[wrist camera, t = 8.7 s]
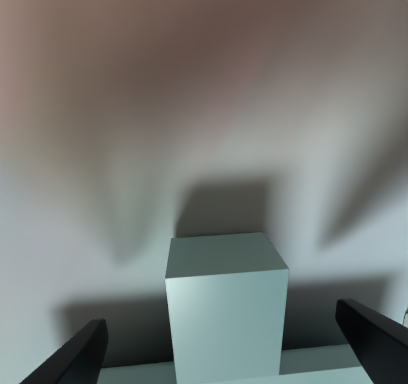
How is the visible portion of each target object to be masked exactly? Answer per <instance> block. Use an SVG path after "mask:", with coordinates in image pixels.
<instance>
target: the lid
mask: <svg viewBox="0 0 408 384" xmlns="http://www.w3.org/2000/svg"><path fill="white" fill-rule="evenodd" d="M288 276H289V268H288V267H287V265H286V264H285V262H284V261H283V259H282V258H281V257H280V255H279V254H278V252H277V251H276V249H275V248H274V247H273V245H272V244H271V242H270V241H269V239H268V238H267V237H266V235H265V234H264V232H257V233H242V234H228V235H213V236H199V237H184V238H171V244H170V250H169V257H168V263H167V270H166V276H165V283H166V291H167V300H168V309H169V318H170V326H171V335H172V344H173V353H174V361H173V362H163V363H153V364H143V365H133V366H123V367H113V368H103V369H101V371H100V374H99V378H98V382H97V384H373V382H372V381H371V379H370V378H369V376H368V375H367V373H366V372H365V370H364V369H363V367H362V365H361V364H360V362H359V360H358V359H357V357H356V355H355V354H354V352H353V350H352V348H351V346H350V345H349V344H342V345H332V346H322V347H312V348H302V349H293V350H283V351H281V347H282V337H283V326H284V316H285V306H286V296H287V286H288Z"/></svg>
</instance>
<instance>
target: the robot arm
mask: <svg viewBox="0 0 408 384" xmlns="http://www.w3.org/2000/svg"><path fill="white" fill-rule="evenodd" d="M335 317H336V321H337V323H338V325H339V327H340V329H341V331H342V332H343V334H344V336H345V338H346V339H347V341H348V343H349V345H350V346H351V348H352V350H353V352H354V354H355V355H356V357H357V359H358V360H359V362H360V364H361V365H362V367H363V369H364V370H365V372H366V373H367V375H368V376H369V378H370V379H371V381H372V382H373V384H408V328H407V327H405V326H403V325H401V324H399V323H397V322H395V321H393V320H391V319H390V318H388V317H386V316H384V315H382V314H380V313H378V312H376V311H374V310H372V309H370V308H368V307H366V306H364V305H362V304H360V303H358V302H356V301H354V300H352V299H350V298H340V299H338V301H337V306H336V314H335ZM107 344H108V330H107V325H106V320H105V319H104V318H99V319H93V320H91V321H90V322H89V323H88V324H87V325H86V326H84V327H83V328H82V329H81V330H80V331H79V332H78V333H77V334H75V335H74V336H73V337H72V338H71V339H70V340H69V341H67V342H66V343H65V344H64V345H63V346H62V347H61V348H59V349H58V350H57V351H56V352H55V353H54V354H53V355H51V356H50V357H49V358H48V359H47V360H46V361H45V362H43V363H42V364H41V365H40V366H39V367H38V368H37V369H35V370H34V371H33V372H32V373H31V374H30V375H29V376H27V377H26V378H25V379H24V380H23V381H22V382H21V383H20V384H97V382H98V378H99V374H100V371H101V367H102V363H103V359H104V356H105V352H106V348H107Z"/></svg>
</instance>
